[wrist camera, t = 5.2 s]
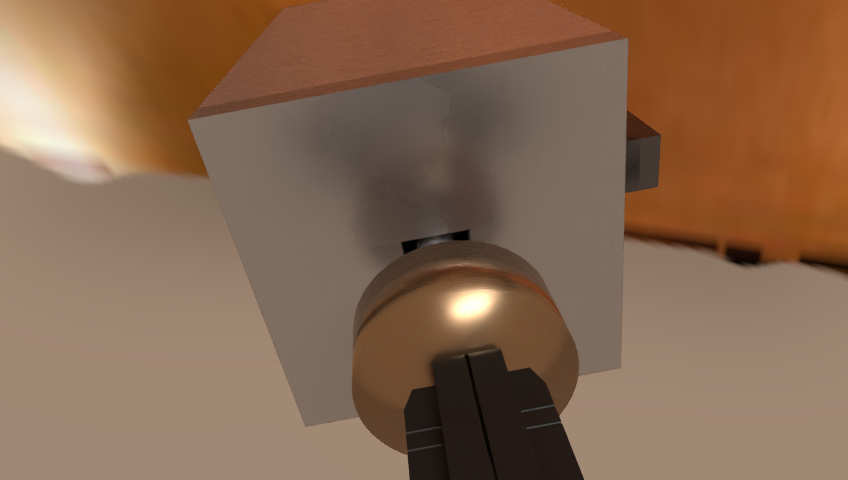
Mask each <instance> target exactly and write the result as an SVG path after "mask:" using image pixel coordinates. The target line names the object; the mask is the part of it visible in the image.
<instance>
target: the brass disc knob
mask: <svg viewBox="0 0 848 480" xmlns="http://www.w3.org/2000/svg"><path fill="white" fill-rule="evenodd" d="M415 240H416V246H417V249H416V250H413V251H411V252H409V253H407V254H405V255H403V256H401V257H399V258H398V259H396V260H395V261H393V262H392V263H390V264H389V265H387V266H386V267H385V268H384V269H383V270H382V271H381V272H379V273H378V274H377V275H376V277H375V278H374V279H373V280H372V281H371V282H370V283H369V285H368V286H367V288H366V289H365V291H364V292H363V294H362V296H361V298H360V300H359V302H358V305H357V308H356V311H355V315H354V323H353V354H352V396H353V401H354V406H355V408H356V411H357V413H358V415H359V417H360V419H361V420H362V422H363V424H364V425H365V426H366V428H367V429H368V430H369V431H370V432H371V433H372V434H373V435H374V436H375V437H376V438H377V439H379V440H380V441H381V442H383V443H384V444H386V445H388V446H389V447H390V448H393V449H394V450H397V451H399V452H401V453H403V454H406V455H408V450H407V441H406V429H405V417H404V408H405V406H406V403H407V401H408V398H409V396H410V393H411V391H412V389H418V388H423V387H428V386H434V385H435V378H434V372H433V366H432V361H433V360H438V359H443V358H449V357H454V356H459V355H465V359H466V363H467V367H468V372H469V376H470V369H469V363H468V356H467V354H469V353H474V352H480V351H485V350H490V349H496V348H500V349H501V351H502V354H503V357H504V360H505V363H506V366H507V369H508V371H513V370H518V369H524V368H529V367H530V368H531V369H532V370H533V371H534V372H535V373H536V374H537V375H538V376H539V377H540V378H541V379H542V380H543V381H544V382H545V383H546V384H547V387H548V389H549V392H550V394H551V397H552V399H553V402H554V406H555V407H556V410H557V412H558V415H560V414H561V413H562V411H563V410H564V409H565V407H566V406H567V404H568V402H569V400H570V399H571V397H572V395H573V392H574V389H575V387H576V384H577V379H578V375H579V358H578V351H577V348H576V345H575V342H574V340H573V338H572V336H571V334H570V332H569V330H568V328H567V326H566V324H565V322H564V320H563V318H562V316H561V314H560V312H559V310H558V308H557V306H556V304H555V302H554V300H553V298H552V296H551V294H550V291H549V289H548V288H547V286H546V284H545V282H544V280H543V278H542V277H541V275H540V274H539V273H538V271H537V270H536V269H535V268H534V267H533V266H532V265H531V264H530V263H529V262H527V261H526V260H525V259H523V258H522V257H521V256H519V255H517V254H516V253H514V252H512V251H510V250H508V249H505V248H503V247H500V246H497V245H494V244H490V243H485V242H479V241H470V240H458V241H455V240H454V237H453V233H447V234H442V235H436V236H431V237H425V238H420V239H415ZM470 380H471V376H470ZM471 385H472V382H471ZM472 389H473V388H472Z"/></svg>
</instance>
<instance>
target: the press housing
mask: <svg viewBox="0 0 848 480" xmlns="http://www.w3.org/2000/svg"><path fill="white" fill-rule="evenodd" d="M627 74H628V38H627V37H625V36H623V35H620V34H618V33H616V32H614V31H612V30H610V29H607V28H605V27H603V26H601V25H599V24H597V23H594V22H592V21H590V20H588V19H586V18H583V17H581V16H579V15H577V14H575V13H573V12H570V11H568V10H566V9H564V8H562V7H560V6H557V5H555V4H553V3H551V2H549V1H546V0H326V1H320V2H315V3H309V4H304V5H299V6H293V7H288V8H283V10H282V11H281V12H280V13H279V14H278V15H277V17H276V18H275V19H274V20H273V21H272V22H271V24H270V25H269V26H268V27H267V28H266V29H265V30H264V32H263V33H262V34H261V35H260V36H259V37H258V39H257V40H256V41H255V42H254V43H253V44H252V46H251V47H250V48H249V49H248V50H247V51H246V53H245V54H244V55H243V56H242V57H241V58H240V60H239V61H238V62H237V63H236V64H235V65H234V67H233V68H232V69H231V70H230V71H229V72H228V74H227V75H226V76H225V77H224V78H223V79H222V81H221V82H220V83H219V84H218V85H217V86H216V88H215V89H214V90H213V91H212V92H211V93H210V95H209V96H208V97H207V98H206V99H205V100H204V102H203V103H202V104H201V105H200V106H199V107H198V109H197V110H196V111H195V112H194V113H193V114H192V116H191V117H190V118H189V119H188V123H189V125H190V128H191V130H192V133H193V136H194V138H195V141H196V143H197V146H198V149H199V151H200V154H201V156H202V159H203V162H204V164H205V167H206V169H207V172H208V175H209V177H210V180H211V182H212V185H213V187H214V190H215V193H216V195H217V198H218V201H219V203H220V206H221V208H222V211H223V214H224V216H225V219H226V222H227V224H228V226H229V229H230V232H231V235H232V237H233V239H234V242H235V245H236V247H237V250H238V253H239V255H240V258H241V260H242V263H243V266H244V268H245V271H246V274H247V276H248V279H249V281H250V284H251V287H252V289H253V292H254V294H255V297H256V299H257V302H258V305H259V307H260V310H261V313H262V315H263V318H264V320H265V323H266V326H267V328H268V331H269V333H270V336H271V338H272V341H273V344H274V346H275V349H276V351H277V354H278V357H279V359H280V362H281V364H282V367H283V370H284V372H285V375H286V377H287V380H288V383H289V385H290V388H291V391H292V393H293V396H294V398H295V401H296V404H297V406H298V409H299V411H300V414H301V416H302V419H303V422H304V424H305V427H308V426H314V425H318V424H324V423H330V422H335V421H340V420H346V419H351V418H356V417H359V415H358V413H357V411H356V408H355V406H354V401H353V396H352V354H353V323H354V315H355V311H356V308H357V305H358V302H359V300H360V298H361V296H362V294H363V292H364V291H365V289H366V288H367V286H368V285H369V283H370V282H371V281H372V280H373V279H374V278H375V277H376V275H377V274H378V273H379V272H381V271H382V270H383V269H384V268H385V267H386V266H387V265H389V264H390V263H392V262H393V261H395V260H396V259H398V258H399V257H401V256H403V255H405V254H407V253H409V252H411V251H413V250H416V249H417V246H416V240H415V239H420V238H425V237H431V236H436V235H442V234H447V233H453V237H454V240H455V241H458V240H470V241H479V242H485V243H490V244H494V245H497V246H500V247H503V248H505V249H508V250H510V251H512V252H514V253H516V254H517V255H519V256H521V257H522V258H523V259H525V260H526V261H527V262H529V263H530V264H531V265H532V266H533V267H534V268H535V269H536V270H537V271H538V273H539V274H540V275H541V277H542V278H543V280H544V282H545V284H546V286H547V288H548V289H549V291H550V294H551V296H552V298H553V300H554V302H555V304H556V306H557V308H558V310H559V312H560V314H561V316H562V318H563V320H564V322H565V324H566V326H567V328H568V330H569V332H570V334H571V336H572V338H573V340H574V342H575V345H576V348H577V351H578V358H579V375H578V376H581V375H586V374H592V373H597V372H602V371H608V370H613V369H618V368H621V338H622V336H621V335H622V294H623V249H624V248H623V247H624V206H625V193H627V192H632V191H638V190H643V189H648V188H654V187H658V176H659V158H660V140H661V135H660V134H659V133H657V132H656V131H655V130H653V129H652V128H651V127H649V126H648V125H647V124H645V123H644V122H642V121H641V120H640V119H638V118H637V117H636V116H634V115H633V114H632V113H630V112H629V111H627Z"/></svg>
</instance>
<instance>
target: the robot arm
mask: <svg viewBox="0 0 848 480" xmlns="http://www.w3.org/2000/svg"><path fill="white" fill-rule="evenodd" d="M467 356H468V363H469V369H470V376H471V380H470V376H469V372H468V367H467V363H466V359H465V355H459V356H454V357H449V358H443V359H438V360H433V361H432V366H433V372H434V378H435V385H434V386H428V387H423V388H418V389H412V391H411V393H410V396H409V398H408V401H407V403H406V406H405V408H404V417H405V429H406V441H407V450H408V464H409V476H410V480H584V478H583V475H582V473H581V470H580V468H579V465H578V463H577V460H576V458H575V455H574V453H573V450H572V448H571V445H570V443H569V440H568V437H567V435H566V432H565V430H564V427H563V425H562V424H561V420H560V418H559V415H558V412H557V410H556V407H555V406H554V402H553V399H552V397H551V394H550V392H549V389H548V387H547V384H546V383H545V382H544V381H543V380H542V379H541V378H540V377H539V376H538V375H537V374H536V373H535V372H534V371H533V370H532V369H531V368H530V367H529V368H524V369H518V370H513V371H508V369H507V366H506V363H505V360H504V357H503V354H502V351H501V349H500V348H496V349H490V350H485V351H480V352H474V353H469V354H467ZM471 382H472V385H471ZM472 388H473V389H472Z"/></svg>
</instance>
